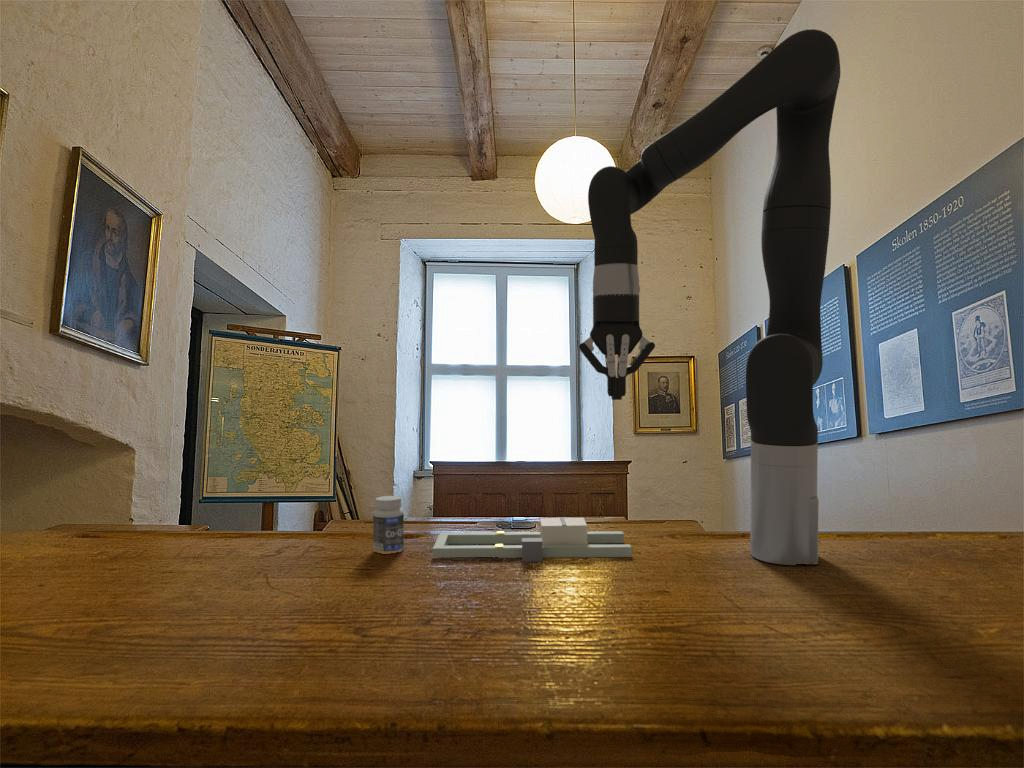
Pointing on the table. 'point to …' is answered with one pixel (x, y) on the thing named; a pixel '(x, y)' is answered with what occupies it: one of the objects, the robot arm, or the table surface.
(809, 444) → the robot arm
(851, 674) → the table surface
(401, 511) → the pill bottle
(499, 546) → the balance mark
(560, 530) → the block
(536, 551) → the slotted beam
